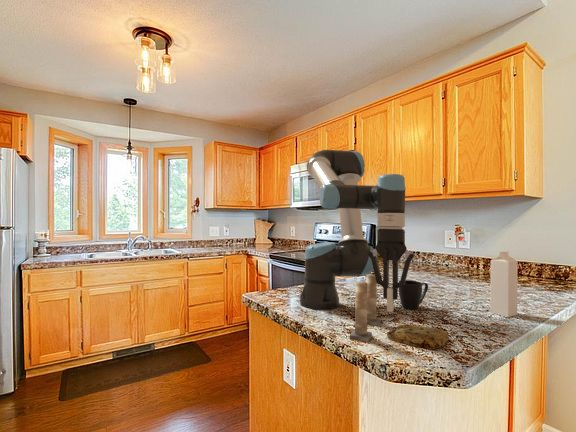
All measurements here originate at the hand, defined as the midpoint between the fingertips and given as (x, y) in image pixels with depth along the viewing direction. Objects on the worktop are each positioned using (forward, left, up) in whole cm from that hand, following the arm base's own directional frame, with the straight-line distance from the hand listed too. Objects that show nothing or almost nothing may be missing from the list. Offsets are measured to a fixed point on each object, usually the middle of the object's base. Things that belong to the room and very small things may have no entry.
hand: (390, 310), depth 89 cm
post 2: (-7, +7, -7) cm, 12 cm away
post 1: (-7, -7, -7) cm, 12 cm away
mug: (+4, +33, -7) cm, 34 cm away
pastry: (+7, +1, -7) cm, 10 cm away
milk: (+33, +40, -7) cm, 52 cm away
